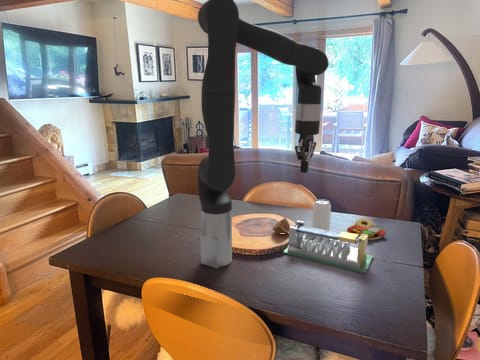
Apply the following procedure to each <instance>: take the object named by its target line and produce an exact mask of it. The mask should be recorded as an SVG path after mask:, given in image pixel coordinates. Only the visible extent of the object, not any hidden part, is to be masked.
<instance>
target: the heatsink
mask: <svg viewBox="0 0 480 360" xmlns="http://www.w3.org/2000/svg"><path fill="white" fill-rule="evenodd" d="M297 224H301V226H305V221H302V220H297V221H296V223H295V226H296V225H297ZM368 241H369V240H368V235H366V234H361V236H360V237H359V240H358V243H357V245H358V246H357V247H353V246H351V243H349V242H344V243H343V241H339V240H334V239H329V240H328V238H324V237H319V236H314V235H308V234H303V233H298V228H296V227H294V226H291V225H290V228H289V233H288V245H287V248H286V249H284V250H283V253H282V254H285V255H289V256H292V257H297V258H300V259H304V260H309V261H312V262H315V263H318V264H319V263H320V264H324V265H328V266H332V267H336V268H338V269H343V270H347V271H351V272H354V273H359V274H363V275H366V273H367V272H368V269H369V267H370V265H371V263H372V261H373V259H372V258H374V255H371V254H367V250H368Z"/></svg>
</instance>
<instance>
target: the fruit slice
mask: <svg viewBox="0 0 480 360" xmlns="http://www.w3.org/2000/svg"><path fill="white" fill-rule="evenodd" d="M290 227H291V224H290V222H289V220H288V219H287V218H286V217H284V218H282V219H281V220H279V221H277V222H276V223H275V224H274V225H273V227H271V228H272V231H273V232H275V233H276V232H278V233H288V232H289V228H290ZM278 233H277V234H278ZM288 234H289V233H288Z"/></svg>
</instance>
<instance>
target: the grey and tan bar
mask: <svg viewBox="0 0 480 360" xmlns="http://www.w3.org/2000/svg"><path fill="white" fill-rule="evenodd" d="M293 227H296V228H298V233H303V234H304V235H307V234H308V235H313V237H314V236H319V237H320V238H322V237H324V238H327V239H329V240H330V239H334V240H335V241H338V240H339V241H342V242H344V243H346V242H349V243H350V244H355V245H358V244H359V242H358V240H359V236H358V234H353V233H348V232H347V231H341V232H336V231H332V230H329V231H327V230H321V229H316V228H312V226H311V227H310V226H309V227H308V226H305V225H304V226H301V224H297V225H296V224H295V225H294V226H293Z"/></svg>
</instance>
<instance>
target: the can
mask: <svg viewBox="0 0 480 360" xmlns="http://www.w3.org/2000/svg"><path fill="white" fill-rule="evenodd" d="M331 213H332V205H331V201H330V200H328V199H324V198H320V199H319V198H318V199H315V200H314V202H313V204H312V216H311V217H312V219H311V220H312V221H311V228H316V229H321V230H327V231H330V228H331V227H330V226H331Z"/></svg>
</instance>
